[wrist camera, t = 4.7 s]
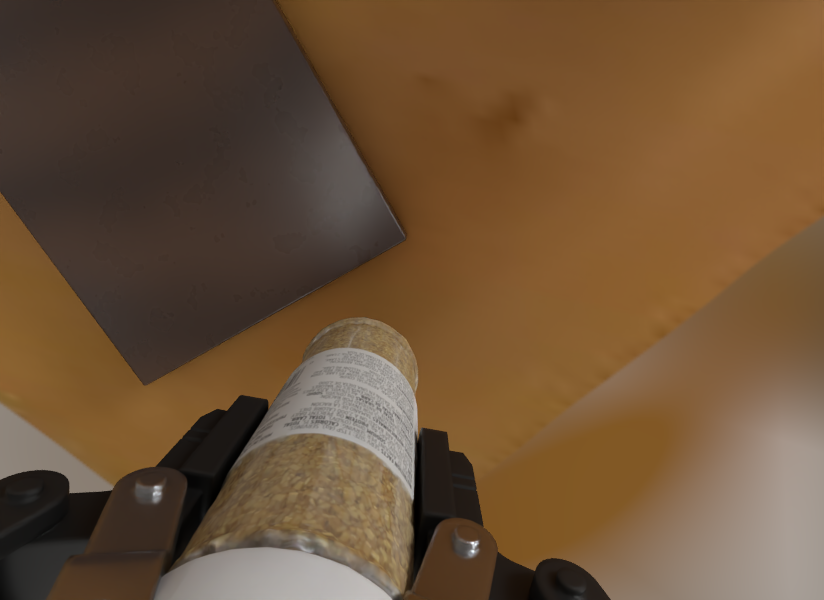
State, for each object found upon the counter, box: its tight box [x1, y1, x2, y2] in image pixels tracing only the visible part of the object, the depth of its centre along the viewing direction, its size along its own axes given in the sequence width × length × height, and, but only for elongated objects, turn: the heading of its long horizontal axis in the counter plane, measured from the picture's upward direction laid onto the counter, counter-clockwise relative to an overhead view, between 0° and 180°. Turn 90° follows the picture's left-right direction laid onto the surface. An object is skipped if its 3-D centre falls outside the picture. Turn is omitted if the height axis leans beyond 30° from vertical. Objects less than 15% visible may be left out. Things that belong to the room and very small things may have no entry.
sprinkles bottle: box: [154, 317, 418, 600], centre depth 12 cm, size 5×5×14 cm
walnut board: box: [0, 0, 407, 385], centre depth 20 cm, size 17×14×2 cm
